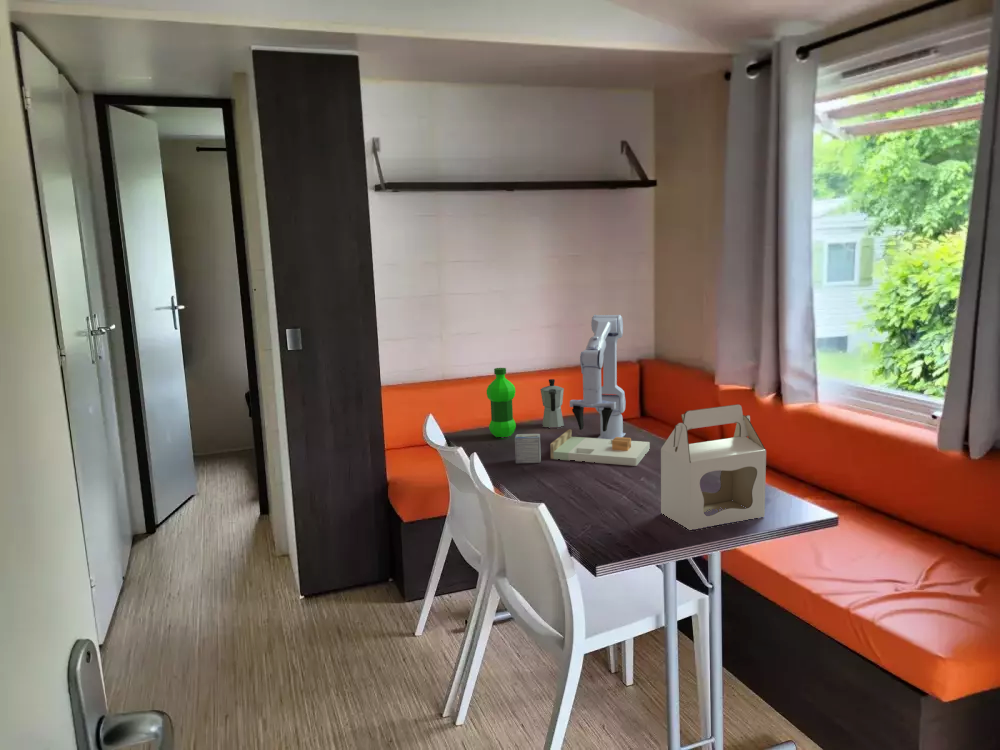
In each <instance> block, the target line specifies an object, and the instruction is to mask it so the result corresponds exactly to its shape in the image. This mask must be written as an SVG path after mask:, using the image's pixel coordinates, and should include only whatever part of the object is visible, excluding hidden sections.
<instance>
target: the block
mask: <svg viewBox="0 0 1000 750" xmlns="http://www.w3.org/2000/svg"><path fill="white" fill-rule="evenodd" d="M631 441H632V438H631V437H625V436H623V437H615V438H614V439H613V440H612V450H624V451H628V450H629V449H630V447H631Z"/></svg>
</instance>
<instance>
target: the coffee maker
mask: <svg viewBox="0 0 1000 750" xmlns="http://www.w3.org/2000/svg"><path fill="white" fill-rule="evenodd" d="M555 382H556V380H555V379H554V378H551V379H548V383H549V384H548V385H547V386H543V387H541V388H540V394H541V395H540V396H541V401H542V406H543V407H544V409H543V417H542V425H543V426H542V428H543V427H549V428H550V427H561V426H564V427H565V424H564V418H563V412H562V405H563V401H564V392H565V391H564V390H565V388H564V387H561V386H559V385H555ZM561 428H562V427H561Z"/></svg>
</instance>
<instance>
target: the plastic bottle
mask: <svg viewBox="0 0 1000 750" xmlns="http://www.w3.org/2000/svg"><path fill="white" fill-rule="evenodd" d="M493 371H494V373H493V374H494V375H495V379H494V380H492V381H491V382H490V384H489V385H487V388H486V396H487V399H488V400H489V401H490V418H491V420H490V421H489V425H488V429H489V432H490V433H491V435H493V436H494V437H495V438H497V437H508V436H510V437H511V436H512V435H513V434H514V432H515V431H516V428H517V424H516V421H515V419H514V412H513V410H514V409H513V399H515V396H516V387H515V385H514V384H513V382H511V381H510V380H508V379H507V378H506V375H507V368H506V367H496V368H494V369H493ZM508 438H509V437H508Z"/></svg>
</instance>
